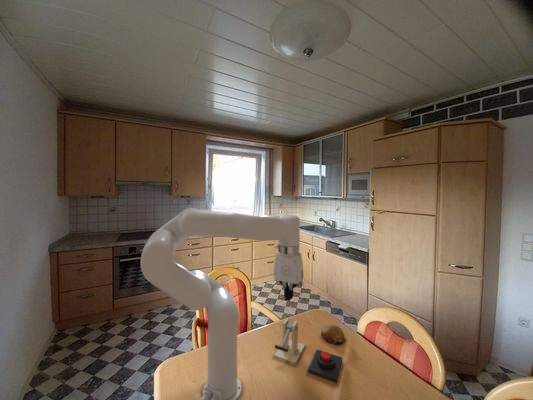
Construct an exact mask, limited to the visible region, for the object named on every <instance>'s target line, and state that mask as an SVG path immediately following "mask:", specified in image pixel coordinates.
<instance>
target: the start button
mask: <svg viewBox="0 0 533 400" xmlns="http://www.w3.org/2000/svg"><path fill="white" fill-rule="evenodd" d="M330 354H331V353H330V352H329V351H323V352H322V353H321V360H322V361H323V362H326V363H327V362H330V361H331V355H330Z"/></svg>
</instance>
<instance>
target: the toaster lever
mask: <svg viewBox="0 0 533 400" xmlns="http://www.w3.org/2000/svg"><path fill="white" fill-rule="evenodd" d="M294 322H295V321H290V320H289V322H288V324H287V326H286V327H287V331H286V334H285V336H284V339H283V338H282V341H281V343H280V345H279V344H275V345H274V349H275V350H278V349H279V350H282V351H285V352H288V349H287V348H284V346H285V343H286V341H287V338H288V336H289V337H290V333H292V325H293V324H294Z"/></svg>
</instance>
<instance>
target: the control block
mask: <svg viewBox="0 0 533 400" xmlns="http://www.w3.org/2000/svg"><path fill="white" fill-rule="evenodd" d="M322 352H324V351H323V350H320V349H316V350H315V352H314V355H313V357H312V359H311V361H310V364H309V366H308V369H307V373H309V374H311V375H313V376H317V377H320V378H322V379H325V380H327V381H330V382H333V383H335V386H337V385H338V381H339V377H340V373H341V369H342V364H343V357H342V356H338V355H335V354H332V353H330V355H331V361H330V362H327V363H326V362H323V361H322V360H321V353H322Z"/></svg>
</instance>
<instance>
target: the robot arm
mask: <svg viewBox="0 0 533 400" xmlns="http://www.w3.org/2000/svg"><path fill="white" fill-rule="evenodd" d="M300 227H301V219H300V217H299V216H298V215H292V214H284V215H274V214H273V215H272V214H264V215H262V216H261V215H258V216H257V215H250V214H245V213H241V212H237V211H231V210H215V209H199V208H195V207H188V208H185V209H183V210H182V211H181V212H179V213H178V214H177V215H176V216H174V217H173V218H171V219H170V220H168V222H166V223H165V224H163V225H162V226H161V227H159V228H157V230H155V231H154V232H153V233H152V234H151V235H150V236H149V238H148V239H147V240H146V242H145V244H144V246H143V249H142V252H141V256H140V270H141V273H142V275H143V277H144V278H145V279H146V281H148V283H149V284H151V285H153V286H154V287H156V288H157V289H158V290H160V291H162V292H164V293H165V294H166V295H167V296H169V297H170V298H172V299H174V300H175V301H177V302H178V303H180V304H182V305H183V306H184V307H186V308H187V309H190V310H192V311H201V310H203V309H206V311H205V312H206V315H207V325H208V326H207V381H206V383H205V384H204V386H203V389H202V397H200V398H199V400H237V399H239V397H240V395H241V393H242V389H243V388H242V387H243V386H242V382H241V381H240V379H239V378H238V329H239V321H240V312H239V308H238V305H237V303H236V301H235V299H234V297H233V296H232V293H231V292H230V290H229V289H228V288H227V287H225V286H224V285H223V284H221V283H220V282H219V281H217V280H215V279H214V278H213V277H211V276H210V275H209V274H207V273H205V272H203V271H201V270H197V269H196V270H195V269H194V270H191V271H190V270H188V269H187V268H186V267H184V266H183V265H181V264H179V263H177V262H176V261H175V259H174V257H175V254H176V251H177V247H179V246H180V245H181V244H182V243H184V242H185V241H186V240H188V239H189V238H190V237H195V238H196V237H198V238H199V237H200V238H232V239H243V240H253V241H278V244H275V247H274V248H275V249H277V252H276V253H275V259H274V265H273V278H274V280H275V282H277V283H279V284H280V285H281V287H282V289H283V297H284V301H287V302H290V301H291V300H292V299H294V289H295V288H296V287H302V286H303V285H304V263H303V256H302V253H301V252H300V240H301V239H300V238H301V235H300V234H301V233H300V232H301V231H300V230H301V229H300Z"/></svg>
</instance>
